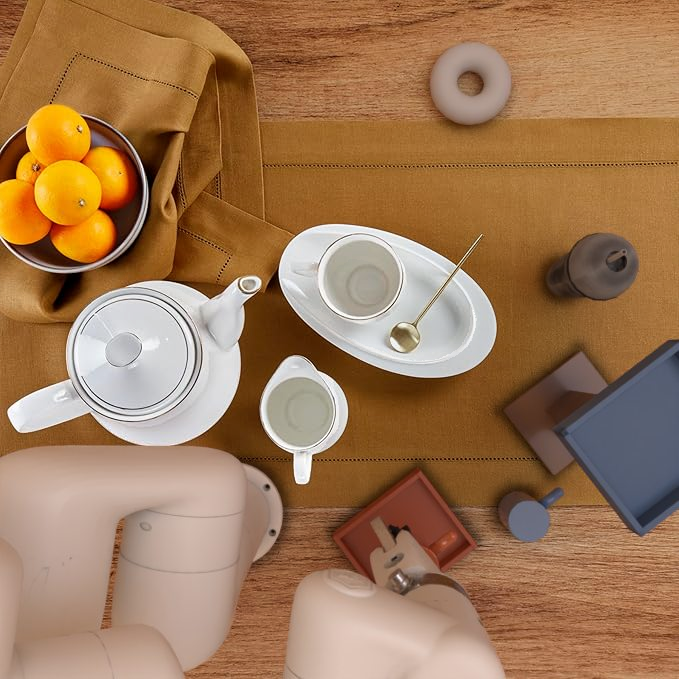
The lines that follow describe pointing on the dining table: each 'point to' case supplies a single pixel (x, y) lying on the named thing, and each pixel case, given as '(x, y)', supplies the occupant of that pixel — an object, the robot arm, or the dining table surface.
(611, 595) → the dining table surface
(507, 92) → the donut
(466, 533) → the rust tray
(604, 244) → the beverage cup
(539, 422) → the stand
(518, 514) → the blue mug
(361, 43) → the dining table surface
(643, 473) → the blue tray
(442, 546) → the rust mug
